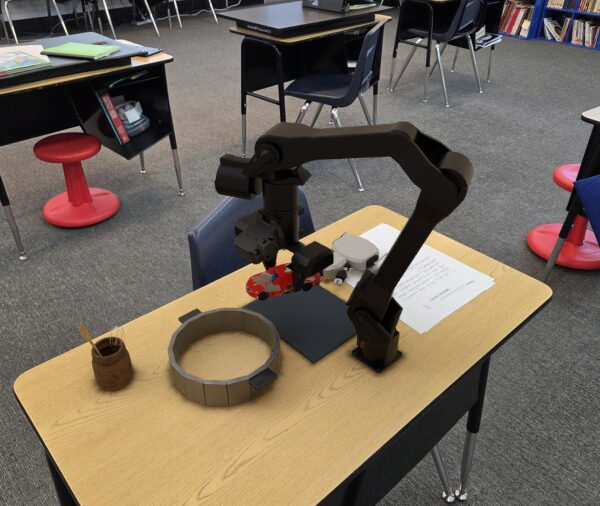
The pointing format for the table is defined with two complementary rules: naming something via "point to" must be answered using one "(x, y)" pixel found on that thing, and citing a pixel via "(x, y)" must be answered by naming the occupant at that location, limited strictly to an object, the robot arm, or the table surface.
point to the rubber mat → (308, 320)
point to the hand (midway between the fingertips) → (283, 282)
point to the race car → (277, 282)
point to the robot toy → (350, 257)
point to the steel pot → (215, 322)
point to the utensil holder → (110, 361)
